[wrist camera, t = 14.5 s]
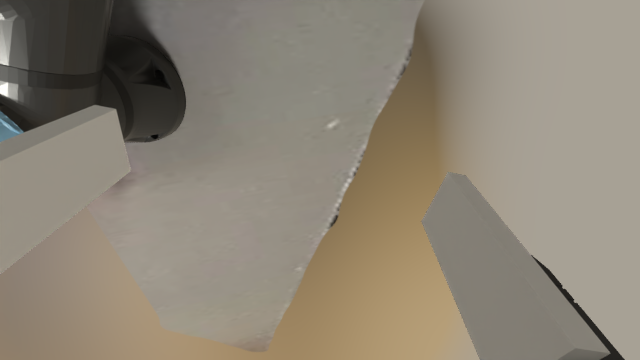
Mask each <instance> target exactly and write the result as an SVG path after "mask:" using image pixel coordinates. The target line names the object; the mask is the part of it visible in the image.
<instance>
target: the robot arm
mask: <svg viewBox="0 0 640 360" xmlns="http://www.w3.org/2000/svg"><path fill="white" fill-rule="evenodd" d="M113 2H114V0H0V274H1V273H2V272H4V271H5V270H6V269H8V268H9V267H10V266H11V265H12V264H14V263H15V262H16V261H18V260H19V259H20V258H21V257H23V256H24V255H25V254H26V253H28V252H29V251H30V250H32V249H33V248H34V247H35V246H37V245H38V244H39V243H40V242H42V241H43V240H44V239H45V238H47V237H48V236H49V235H50V234H52V233H53V232H54V231H56V230H57V229H58V228H59V227H61V226H62V225H63V224H64V223H66V222H67V221H68V220H69V219H71V218H72V217H73V216H75V214H77V213H78V212H80V211H81V210H82V209H83V208H85V207H86V206H87V205H88V204H90V203H91V202H92V201H94V200H95V199H96V198H97V197H99V196H100V195H101V194H102V193H104V192H105V191H106V190H107V189H109V188H110V187H111V186H113V185H114V184H115V183H116V182H118V181H119V180H120V179H121V178H123V177H124V176H125V175H126V174H128V173H129V172H130V171H131V168H130V164H129V160H128V156H127V152H126V148H125V144H124V142H152V141H156V140H159V139H161V138H164V137H166V136H168V135H170V134H172V133H173V132H174V131H175V130H176V129H177V128H178V127H179V126H180V124H181V122H182V120H183V117H184V114H185V94H184V90H183V86H182V83H181V81H180V79H179V77H178V75H177V73H176V71H175V69H174V68H173V66H172V65H171V64H170V62H169V61H168V60H167V59H166V58H165V57H164V56H163V55H162V54H161V53H160V52H159V51H158V50H157V49H155V48H154V47H152V46H151V45H149V44H148V43H146V42H144V41H142V40H139V39H136V38H133V37H127V36H113V35H111V36H108V35H109V29H110V22H111V15H112V8H113ZM422 224H423V226H424V229H425V231H426V234H427V236H428V238H429V241H430V243H431V245H432V248H433V250H434V252H435V255H436V257H437V259H438V262H439V264H440V267H441V269H442V271H443V274H444V276H445V278H446V281H447V283H448V285H449V288H450V290H451V292H452V295H453V297H454V300H455V302H456V304H457V307H458V309H459V311H460V314H461V316H462V318H463V321H464V323H465V326H466V328H467V330H468V332H469V335H470V337H471V339H472V342H473V344H474V347H475V349H476V352H477V354H478V356H479V359H480V360H625V359H624V358H623V357H622V356H621V355H620V354H619V353H618V351H617V350H616V349H615V348H614V347H613V345H612V344H611V343H610V342H609V341H608V339H607V338H606V337H605V336H604V335H603V334H602V332H601V331H600V330H599V329H598V327H597V326H596V325H595V324H594V323H593V322H592V320H591V319H590V318H589V317H588V316H587V314H586V313H585V312H584V311H583V310H582V308H581V307H580V306H579V305H578V304H577V303H574V299H573V298H572V296H571V295H570V294H569V293H568V292H567V291H566V289H563V288H562V285H561V283H560V282H559V281H558V280H557V279H556V277H555V276H554V275H553V274H552V273H551V271H550V270H549V269H548V268H546V267H545V266H544V265H543V264H542V263H540V262H539V261H538V260H537V259H535V258H534V257H533V256H532V255H530V254H529V252H528V251H527V250H526V249H525V247H524V246H523V245H522V244H521V243H520V241H519V240H518V239H517V238H516V236H515V235H514V234H513V233H512V232H511V230H510V229H509V228H508V227H507V225H506V224H505V223H504V222H503V221H502V219H501V218H500V217H499V216H498V215H497V213H496V212H495V211H494V209H493V208H492V207H491V206H490V204H489V203H488V202H487V201H486V200H485V198H484V197H483V196H482V195H481V193H480V192H479V191H478V190H477V189H476V187H475V186H474V185H473V184H472V183H471V181H470V180H469V179H468V177H467V176H466V175H461V174H456V173H451V172H448V173H447V175H446V177H445V179H444V181H443V183H442V184H441V186H440V188H439V190H438V192H437V194H436V195H435V197H434V199H433V201H432V203H431V205H430V207H429V208H428V210H427V212H426V214H425V216H424V218H423V219H422Z"/></svg>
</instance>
